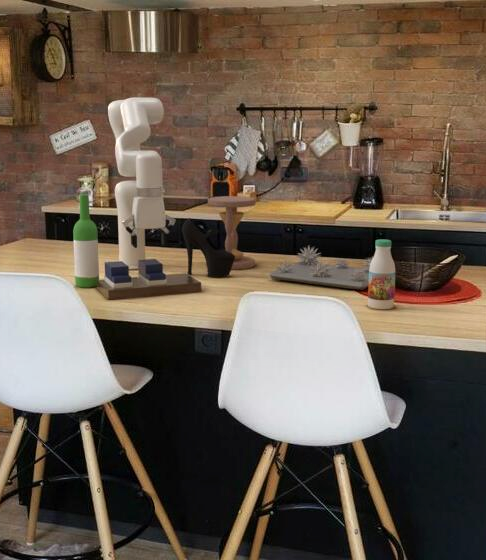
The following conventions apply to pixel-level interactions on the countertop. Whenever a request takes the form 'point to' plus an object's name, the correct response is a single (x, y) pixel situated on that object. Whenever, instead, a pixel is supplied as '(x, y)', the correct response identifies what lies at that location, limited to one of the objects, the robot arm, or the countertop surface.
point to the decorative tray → (323, 272)
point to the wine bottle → (85, 247)
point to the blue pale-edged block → (151, 272)
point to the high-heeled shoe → (207, 250)
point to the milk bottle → (381, 277)
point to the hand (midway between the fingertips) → (149, 246)
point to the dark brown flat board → (151, 287)
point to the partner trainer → (117, 275)
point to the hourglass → (233, 226)
